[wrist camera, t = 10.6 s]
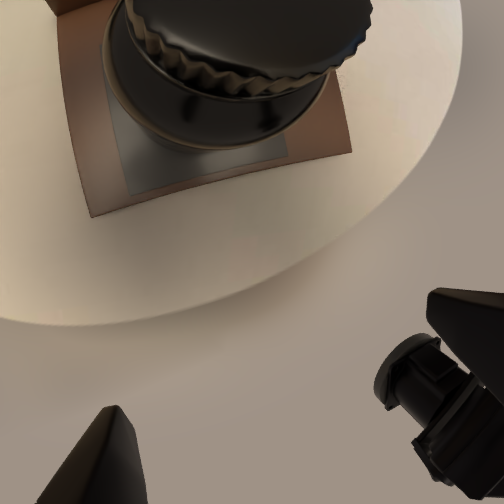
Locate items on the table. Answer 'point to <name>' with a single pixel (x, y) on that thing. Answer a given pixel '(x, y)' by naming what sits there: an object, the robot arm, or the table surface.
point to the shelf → (147, 151)
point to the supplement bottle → (226, 65)
